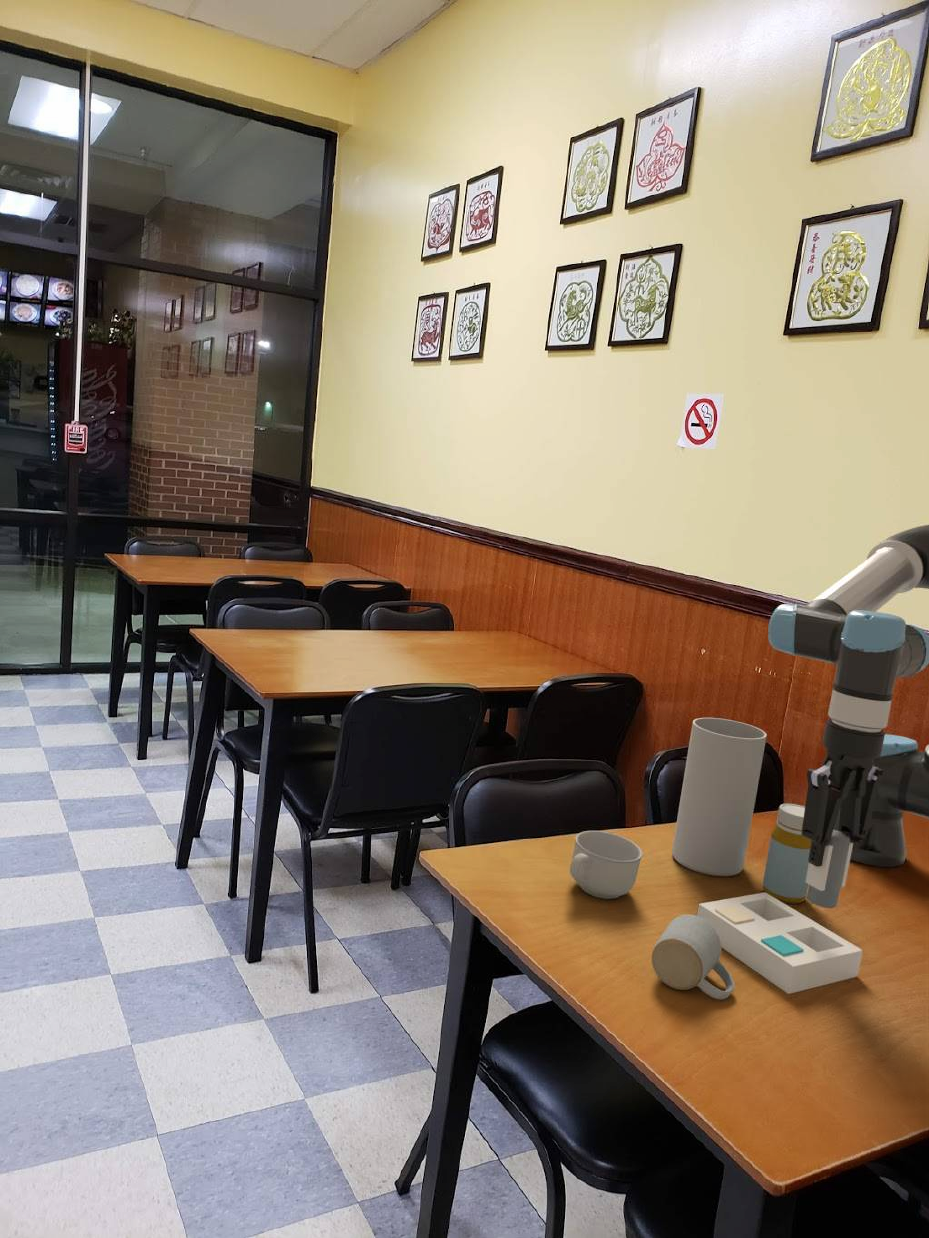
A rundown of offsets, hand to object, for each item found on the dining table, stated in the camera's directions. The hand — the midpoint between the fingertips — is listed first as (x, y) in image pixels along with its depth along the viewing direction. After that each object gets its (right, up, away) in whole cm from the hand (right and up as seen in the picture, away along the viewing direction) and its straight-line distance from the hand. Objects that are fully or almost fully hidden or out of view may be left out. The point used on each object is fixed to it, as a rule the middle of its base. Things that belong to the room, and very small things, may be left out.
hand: (825, 884), depth 128 cm
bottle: (+3, -9, +25) cm, 26 cm away
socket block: (-6, -11, +5) cm, 13 cm away
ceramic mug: (-20, -11, -6) cm, 24 cm away
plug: (0, -2, 0) cm, 3 cm away
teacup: (-30, -7, +18) cm, 35 cm away
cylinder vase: (-7, -6, +35) cm, 36 cm away
